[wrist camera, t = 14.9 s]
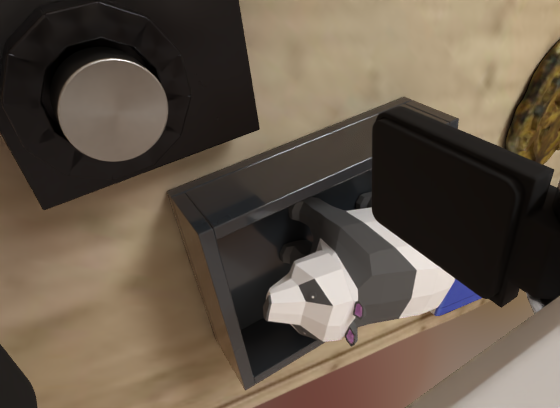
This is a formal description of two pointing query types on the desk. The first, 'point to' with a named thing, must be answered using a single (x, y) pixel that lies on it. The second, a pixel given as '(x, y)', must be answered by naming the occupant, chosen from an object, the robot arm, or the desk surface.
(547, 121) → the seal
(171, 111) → the black knob plate
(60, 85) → the tap button
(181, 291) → the desk surface
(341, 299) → the giant panda
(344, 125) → the dark grey shallow box
